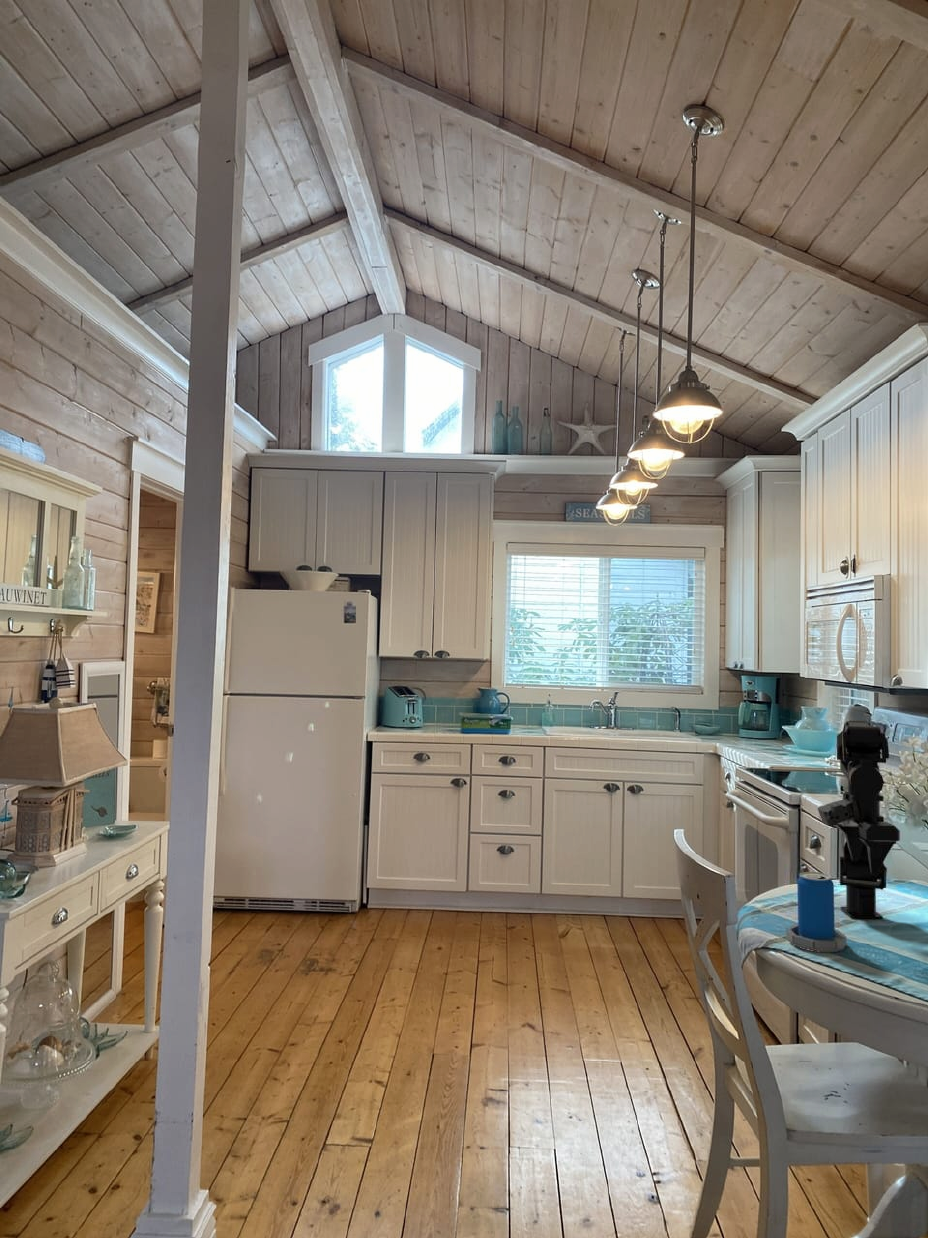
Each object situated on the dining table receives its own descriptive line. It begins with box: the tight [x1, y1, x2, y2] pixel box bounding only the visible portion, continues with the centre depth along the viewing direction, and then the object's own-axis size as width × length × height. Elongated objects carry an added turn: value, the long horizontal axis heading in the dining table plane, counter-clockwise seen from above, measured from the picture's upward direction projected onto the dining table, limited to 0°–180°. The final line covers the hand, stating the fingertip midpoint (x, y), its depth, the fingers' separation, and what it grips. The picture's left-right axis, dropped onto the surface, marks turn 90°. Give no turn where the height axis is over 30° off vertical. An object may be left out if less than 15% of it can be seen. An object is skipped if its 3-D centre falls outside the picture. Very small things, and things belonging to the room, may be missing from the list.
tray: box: [785, 923, 847, 953], centre depth 161 cm, size 10×10×2 cm
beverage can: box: [796, 871, 836, 941], centre depth 161 cm, size 6×6×12 cm
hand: (864, 867), depth 167 cm, fingers open, 9 cm apart
